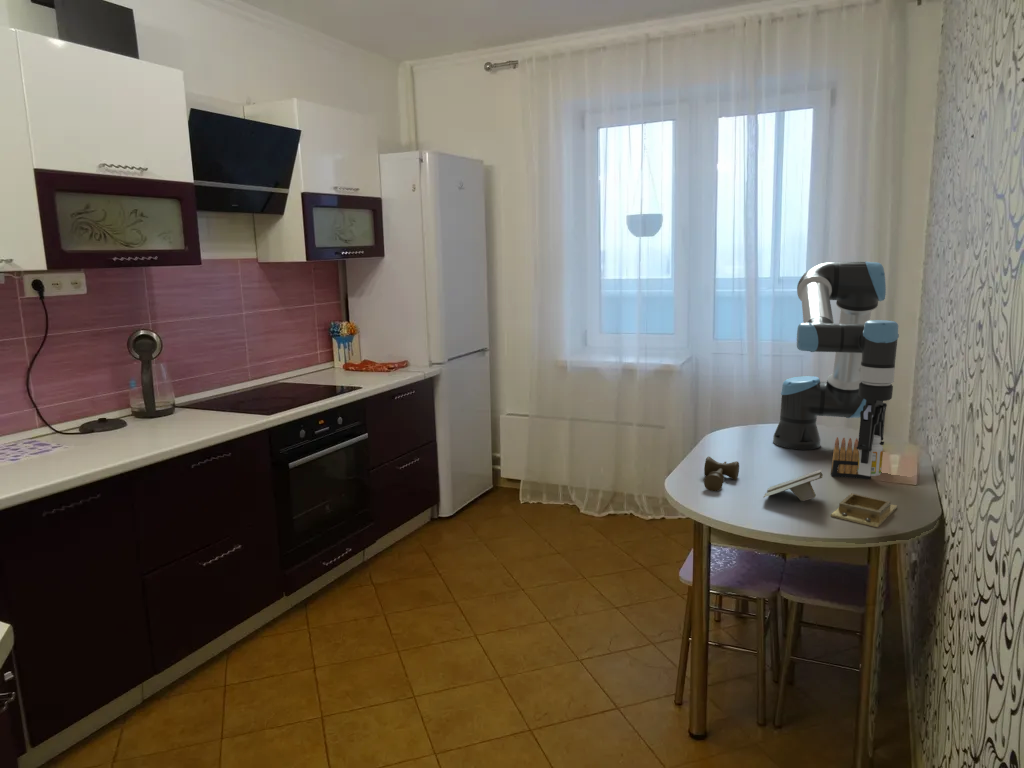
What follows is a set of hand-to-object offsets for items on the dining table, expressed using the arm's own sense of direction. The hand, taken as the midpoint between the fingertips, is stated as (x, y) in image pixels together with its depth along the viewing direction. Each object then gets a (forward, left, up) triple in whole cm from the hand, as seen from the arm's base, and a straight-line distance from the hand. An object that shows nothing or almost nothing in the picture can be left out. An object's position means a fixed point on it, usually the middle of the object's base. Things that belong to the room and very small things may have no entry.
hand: (868, 471), depth 177 cm
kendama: (+1, -40, -12) cm, 41 cm away
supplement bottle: (0, 0, -1) cm, 1 cm away
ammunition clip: (-27, -12, -11) cm, 31 cm away
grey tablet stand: (+3, -18, -11) cm, 21 cm away
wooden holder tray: (0, 0, -11) cm, 11 cm away
